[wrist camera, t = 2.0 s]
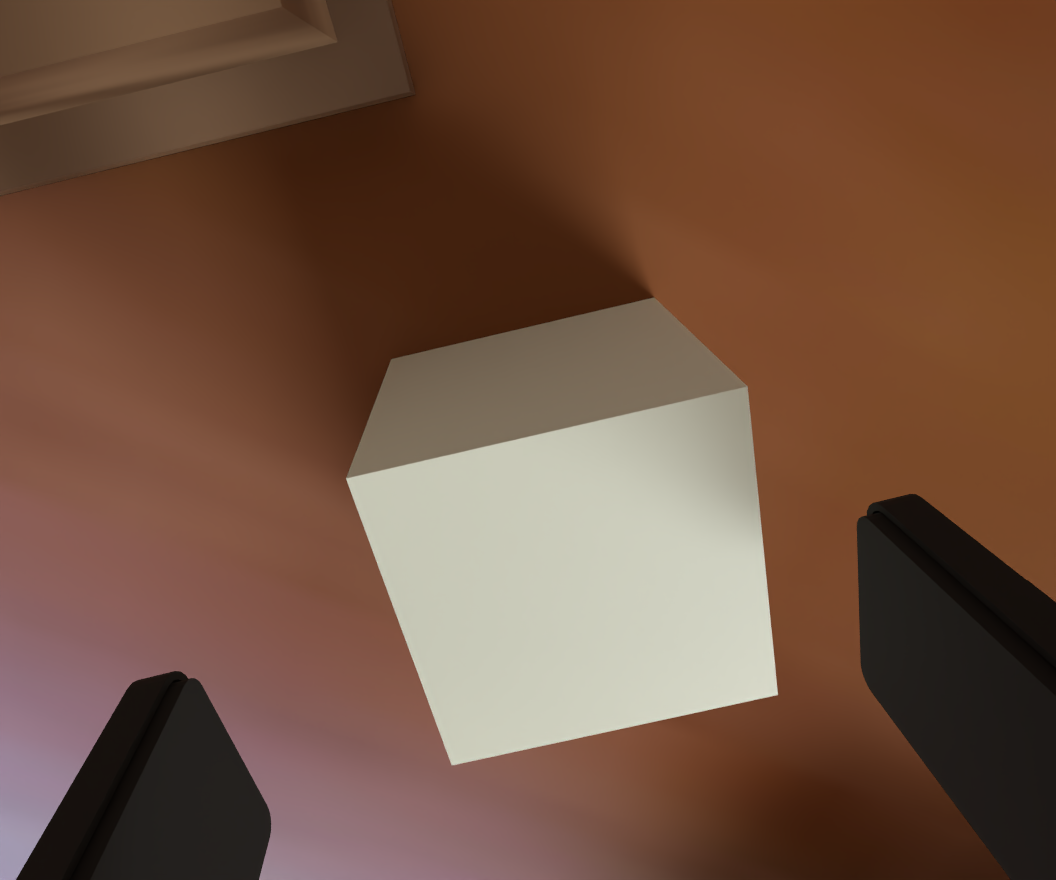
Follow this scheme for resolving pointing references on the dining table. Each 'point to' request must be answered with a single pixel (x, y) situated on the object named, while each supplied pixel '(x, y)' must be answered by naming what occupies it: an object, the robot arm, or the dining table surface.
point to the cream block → (569, 529)
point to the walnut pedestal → (179, 76)
